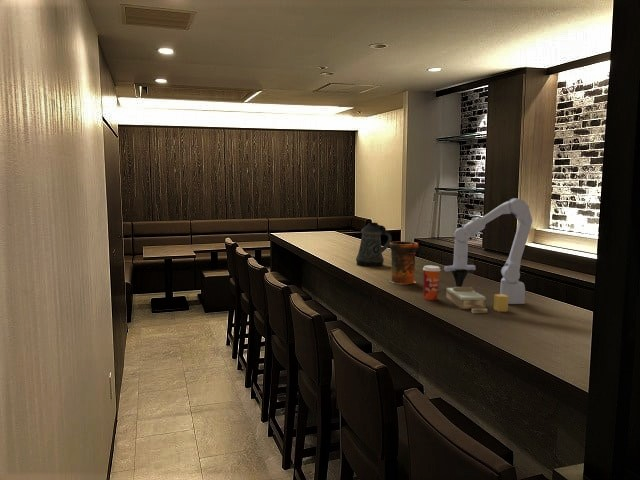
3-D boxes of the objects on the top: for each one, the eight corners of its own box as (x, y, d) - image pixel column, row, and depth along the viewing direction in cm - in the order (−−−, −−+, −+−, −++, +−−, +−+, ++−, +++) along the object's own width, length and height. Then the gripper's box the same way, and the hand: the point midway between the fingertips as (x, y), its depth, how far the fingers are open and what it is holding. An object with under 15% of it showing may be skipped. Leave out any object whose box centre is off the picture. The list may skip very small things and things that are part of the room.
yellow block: (503, 308, 213) (503, 294, 213) (507, 311, 209) (508, 296, 209) (493, 308, 213) (494, 294, 212) (497, 311, 209) (498, 296, 208)
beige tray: (468, 298, 230) (468, 290, 230) (492, 313, 206) (492, 304, 206) (446, 298, 229) (446, 290, 229) (467, 313, 205) (467, 304, 205)
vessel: (404, 286, 253) (405, 244, 251) (382, 281, 264) (383, 242, 262) (423, 282, 262) (424, 242, 261) (401, 278, 273) (402, 240, 271)
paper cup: (426, 301, 224) (427, 268, 222) (418, 296, 231) (419, 265, 230) (442, 300, 226) (444, 268, 224) (434, 296, 233) (435, 265, 232)
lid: (468, 290, 230) (469, 284, 230) (485, 299, 212) (486, 293, 212) (446, 290, 229) (446, 284, 229) (461, 299, 211) (462, 293, 211)
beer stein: (351, 263, 318) (352, 221, 315) (378, 261, 326) (380, 221, 323) (364, 267, 303) (366, 224, 300) (393, 265, 311) (394, 223, 308)
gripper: (451, 257, 220) (449, 289, 222) (480, 256, 225) (478, 287, 227) (442, 255, 227) (440, 286, 228) (470, 254, 232) (468, 284, 233)
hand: (458, 286), depth 228 cm, fingers closed
